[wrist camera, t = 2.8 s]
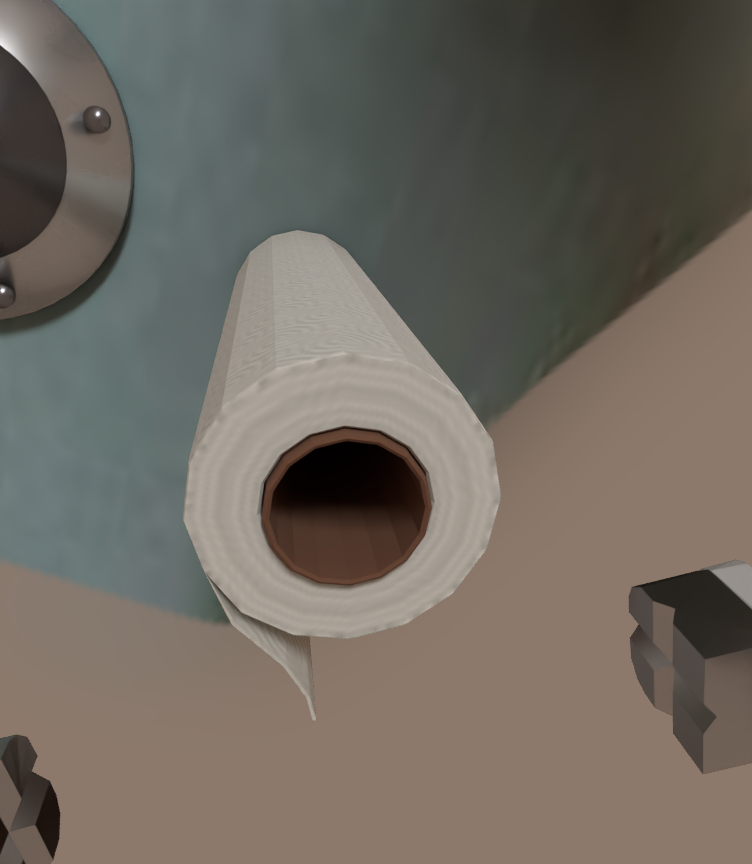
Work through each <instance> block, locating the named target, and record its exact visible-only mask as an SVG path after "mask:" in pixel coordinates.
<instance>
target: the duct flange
mask: <svg viewBox="0 0 752 864" xmlns="http://www.w3.org/2000/svg"><path fill="white" fill-rule="evenodd" d="M133 187H134V155H133V144H132V138H131V133H130V128H129V124H128V119H127V115H126V113H125V110H124V107H123V104H122V101H121V98H120V95H119V92H118V90H117V88H116V86H115V84H114V82H113V80H112V78H111V76H110V74H109V72H108V70H107V68H106V66H105V65H104V63H103V61H102V60H101V58H100V57H99V55H98V53H97V52H96V50H95V49H94V47H93V46H92V44H91V43H90V42H89V40H88V39H87V38H86V37H85V35H84V34H83V33H82V32H81V30H80V29H79V28H78V27H77V25H76V24H75V23H74V22H73V21H72V20H71V19H70V18H69V17H68V16H67V15H66V14H65V13H64V12H63V11H62V10H61V9H60V8H59V7H58V6H57V5H56V4H55V3H54V2H53V1H51V0H0V319H7V318H13V317H17V316H21V315H25V314H29V313H32V312H35V311H37V310H40V309H42V308H45V307H47V306H49V305H52V304H54V303H55V302H57V301H59V300H60V299H62V298H64V297H65V296H67V295H69V294H70V293H72V292H73V291H75V290H76V289H77V288H78V287H79V286H81V285H82V284H83V283H84V282H86V281H87V280H88V279H89V278H90V277H91V276H92V275H93V274H94V273H95V272H96V271H97V270H98V269H99V268H100V267H101V265H102V264H103V263H104V262H105V260H106V259H107V257H108V256H109V254H110V253H111V251H112V250H113V248H114V247H115V245H116V243H117V241H118V239H119V237H120V235H121V233H122V230H123V228H124V225H125V222H126V219H127V216H128V213H129V209H130V205H131V199H132V193H133Z"/></svg>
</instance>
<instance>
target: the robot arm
mask: <svg viewBox="0 0 752 864" xmlns="http://www.w3.org/2000/svg"><path fill="white" fill-rule="evenodd" d="M629 612H630V614H631V615H632V616H633V617H634V619H635V620H636V621H637V622H638V624H639V625H638V627H637V628H636V630H635V631H634V633H633V634H632V636H631V637H630V646H631V659H632V662H633V665H634V669H635V672H636V675H637V678H638V680H639V682H640V684H641V686H642V688H643V690H644V692H645V694H646V695H647V697H648V698H649V700H650V701H651V703H652V704H653V705H654V707H655V708H657V709H659V710H661V711H663V712H666V713H668V714H670V715H672V716H673V734H674V735H675V736H676V738H677V739H678V741H679V742H680V743H681V745H682V746H683V747H684V749H685V750H686V752H687V753H688V754H689V756H690V757H691V758H692V760H693V761H694V763H695V764H696V765H697V767H698V768H699V769H700V771H701V772H702V774H706V773H711V772H715V771H719V770H724V769H728V768H732V767H736V766H741V765H745V764H749V763H752V568H751V567H750V566H749V565H748V564H747V563H745V562H742V561H738V560H733V561H729V562H726V563H722V564H718V565H714V566H711V567H707V568H703V569H701V570H700V571H695V572H691V573H687V574H683V575H678V576H675V577H671V578H666V579H663V580H659V581H654V582H651V583H646V584H642V585H638V586H634V587H632V588H631V591H630V595H629ZM36 759H37V754H36V752H35V750H34V748H33V747H32V745H31V743H30V741H29V739H28V738H27V737H25V736H21V735H13V736H8V737H3V738H0V864H51V863H52V861H53V859H54V856H55V852H56V848H57V845H58V841H59V833H60V831H59V830H60V810H59V805H58V800H57V796H56V793H55V791H54V789H53V787H52V785H51V782H50V781H49V780H47V779H45V778H43V777H41V776H39V775H37V774H36V773H34V772H32V769H33V767H34V764H35V761H36Z"/></svg>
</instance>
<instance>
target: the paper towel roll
mask: <svg viewBox="0 0 752 864" xmlns="http://www.w3.org/2000/svg"><path fill="white" fill-rule="evenodd" d="M500 499H501V493H500V486H499V479H498V472H497V466H496V459H495V453H494V446H493V441H492V439H491V438H490V436H489V435H488V433H487V432H486V430H485V429H484V427H483V426H482V424H481V423H480V421H479V420H478V418H477V417H476V415H475V414H474V412H473V411H472V409H471V408H470V406H469V405H468V403H467V402H466V400H465V399H464V397H463V396H462V394H461V393H460V392H459V390H458V389H457V388H456V387H455V385H454V384H453V383H452V382H451V380H450V379H449V378H448V377H447V375H446V374H445V373H444V372H443V370H442V369H441V368H440V367H439V365H438V364H437V363H436V362H435V360H434V359H433V358H432V357H431V355H430V354H429V353H428V352H427V350H426V349H425V348H424V347H423V345H422V344H421V343H420V342H419V340H418V339H417V338H416V337H415V335H414V334H413V333H412V332H411V330H410V329H409V328H408V327H407V325H406V324H405V323H404V322H403V320H402V319H401V318H400V317H399V315H398V314H397V313H396V312H395V310H394V309H393V308H392V307H391V305H390V304H389V303H388V302H387V300H386V299H385V298H384V297H383V295H382V294H381V293H380V292H379V290H378V289H377V288H376V287H375V285H374V284H373V283H372V282H371V280H370V279H369V278H368V277H367V275H366V274H365V273H364V272H363V270H362V269H361V268H360V267H359V265H358V264H357V263H356V262H355V260H354V259H353V258H352V257H351V255H350V254H349V253H348V252H347V250H346V249H344V248H343V247H341V246H340V245H338V244H337V243H335V242H334V241H332V240H331V239H329V238H328V237H326V236H324V235H321V234H316V233H310V232H305V231H299V230H296V231H291V232H287V233H283V234H278V235H274V236H271V237H270V238H268V239H267V240H266V241H264V242H263V243H261V244H260V245H259V246H257V247H256V248H255V249H253V250H252V251H251V252H250V253H249V255H248V257H247V258H246V260H245V262H244V264H243V265H242V267H241V269H240V270H239V272H238V274H237V277H236V281H235V285H234V289H233V293H232V296H231V300H230V304H229V308H228V312H227V316H226V319H225V323H224V327H223V331H222V335H221V339H220V342H219V346H218V350H217V354H216V358H215V362H214V366H213V369H212V373H211V377H210V381H209V385H208V389H207V392H206V396H205V400H204V404H203V408H202V412H201V415H200V419H199V423H198V427H197V431H196V435H195V439H194V442H193V446H192V450H191V454H190V458H189V464H188V473H187V483H186V493H185V502H184V512H183V520H184V522H185V525H186V527H187V530H188V532H189V535H190V537H191V540H192V542H193V545H194V547H195V550H196V552H197V555H198V557H199V560H200V562H201V564H202V567H203V569H204V572H205V574H206V576H207V578H208V580H209V582H210V584H211V585H212V587H213V589H214V591H215V593H216V595H217V597H218V599H219V601H220V603H221V605H222V607H223V609H224V611H225V613H226V614H227V616H228V618H229V620H230V622H231V624H232V625H233V626H234V627H235V628H236V629H238V630H239V631H240V632H241V633H243V634H244V635H245V636H246V637H247V638H249V639H250V640H251V641H252V642H254V643H255V644H256V645H257V646H258V647H260V648H261V649H262V650H263V651H265V652H266V653H267V654H268V655H270V656H271V657H272V658H273V659H274V660H276V661H277V662H278V663H279V664H280V665H282V666H283V667H284V668H285V670H286V671H287V672H288V674H289V675H290V677H291V678H292V679H293V680H294V682H295V683H296V685H297V686H298V687H299V689H300V690H301V691H302V693H303V694H304V696H305V697H306V698H307V701H308V705H309V709H310V712H311V716H312V720H313V721H315V720H316V710H315V698H314V686H313V674H312V662H311V651H310V638H309V636H319V637H336V638H354V637H358V636H362V635H365V634H370V633H373V632H377V631H381V630H384V629H389V628H392V627H396V626H400V625H404V624H406V623H408V622H410V621H411V620H412V619H414V618H416V617H417V616H419V615H420V614H422V613H423V612H425V611H426V610H428V609H430V608H431V607H432V606H434V605H435V604H437V603H439V602H440V601H442V600H443V599H445V598H446V597H448V596H449V595H451V594H453V593H454V591H455V590H456V589H457V587H458V586H459V585H460V583H461V582H462V581H463V579H464V578H465V577H466V576H467V574H468V573H469V572H470V570H471V569H472V568H473V566H474V565H475V564H476V562H477V561H478V560H479V558H480V557H481V556H482V555H483V553H484V552H485V551H486V549H487V546H488V542H489V538H490V535H491V531H492V528H493V524H494V521H495V517H496V513H497V509H498V506H499V503H500Z"/></svg>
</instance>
